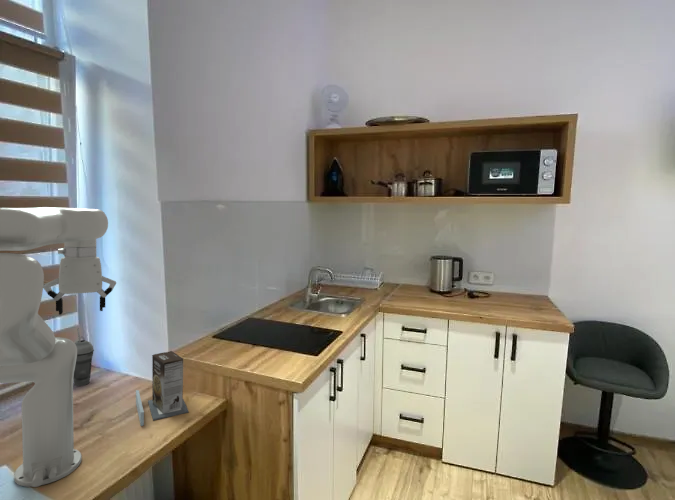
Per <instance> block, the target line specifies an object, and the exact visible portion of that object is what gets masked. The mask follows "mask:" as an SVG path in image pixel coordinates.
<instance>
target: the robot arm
mask: <svg viewBox="0 0 675 500" xmlns="http://www.w3.org/2000/svg"><path fill="white" fill-rule="evenodd" d="M108 227H109V219H108V217H107V214H106V213H105V212H104V211H103V210H101V209H97V208H96V209H95V208H79V207H75V208H74V207H49V206H42V207H41V206H40V207H0V251H1V252H0V384H10V383H11V384H13V383H27V382H28V383H29V382H33V383H34V385H33V386H31V388H30V389H29V390H28V391H27V392H26V394H25V395H24V397H23V398H22V400H21V409H20V411H21V430H22V431H21V436H22V438H21V439H22V464H20V465H19V466H18V467H17V468H16V469H15V471H14V475H13V477H14V478H13V479H14V483H16V484H17V485H18V486H21V487H33V488H38V487H40V486H44V485H47V484H51V483H53V482H56V481H58V480H61V479H63V478H66V476H68V475H70V474H71V473H72V472H74V471H75V470H76V469H77V468H78V467H79V466H80V464H81V462H82V456H83V455H82V452H80V450H78V449H75V448H74V447H75V445H74V443H75V442H74V441H75V439H74V380H73V377H74V370H75V364H76V359H77V347H76V345H75V343H76V342H74V341H73V340H72V339H69V338H67V337H59V336H57V337H56V336H55V333H54V331H53V329H52V328H51V327H50V326H49V324H48V323H47V322H46V321H45V320H44V319H43V317H42V316H40V314H39V311H40V310H39V309H40V306H41V301H42V297H43V292H44V291H45V292H46V294H47V295H48V296H49V297H50V298H52V299H53V300H54V301H55V312H58V315H62V314H63V313H64V307H63V306H64V305H63V304H64V303H63V300H64V299H63V298H62V297H63V296H64V295H73V294H90V293H97V294H98V295H99V311H100V312H103V310H104V309H103V308H106V297H107V296H108V295H109V294H110V293H111V292H113V290H114V288H115V286H116V284H117V282H116V280H113V279H111V278H108V277H106V276H104V275H103V273H102V263H101V259H100V257H99V256H97V239H100V238H102V237H104V235H105V234H106V233H107V230H108ZM55 244H58V245H59V244H64V247H63V248H58V249H57V253H58V254H59V255H60V254H61V255H63V256H64V257H60V262H59V270H58V271H59V272H58V277H57V278H55V279H53V280H50V281H49V282H46V283H44V282H45V273H44V269H43V267H42V264H41V263H40V262H39V261H38V260H37V259H35V258H33V257H32V256H28V255H25V254H19V253H12V252H11V253H10V251H13V252H18V251H19V252H20V251H30V250H33V249H38V248H41V247H45V246H49V245H55ZM2 251H5V252H2ZM6 251H9V252H6ZM103 282H104V283H106V284H109V286H108V287H107V288H106V289H105V290H104V289H103ZM56 285H58V292H55V291H54V290H53V289H52V287H53V286H56ZM43 289H44V291H43Z"/></svg>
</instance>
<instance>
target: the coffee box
mask: <svg viewBox="0 0 675 500" xmlns="http://www.w3.org/2000/svg"><path fill="white" fill-rule="evenodd" d="M151 356H152V357H151V358H152V361H151V362H152V363H151V364H152V365H151V366H152V367H151V368H152V388H151V389H152V400H153V404H154V405H155V406H156V407H157V408H158V409H159V410H160V411H161V412H162V413H163V414H164V413H167V412H170V411H173V410H176V409H179V408H182V406H183V400H184V398H183V396H184V393H183V392H184V358H183V357H181V356H180V355H178V354H177V353H176V352H174V350H173V351H172V350H170V351H166V352H160V353H155V354H153V355H151Z"/></svg>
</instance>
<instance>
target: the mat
mask: <svg viewBox="0 0 675 500" xmlns="http://www.w3.org/2000/svg"><path fill="white" fill-rule="evenodd" d="M147 403H148V407H149V410H150V414H151V417H152V421H158V420H162V419H167V418H170V417H174V416H178V415H179V416H180V415H183V414H187V413H189V408H188V406H187V404H186V402H185V399H183V406H182V408H179V409H176V410H173V411H170V412H167V413H164V414H163V413H162V412H161V411H160V410H159V409H158V408H157V407H156V406H155V405H154V404H153V399H150V400H147Z"/></svg>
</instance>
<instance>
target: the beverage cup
mask: <svg viewBox="0 0 675 500" xmlns="http://www.w3.org/2000/svg"><path fill="white" fill-rule="evenodd" d="M76 331H77V338H78V339H77V341H76V342H74V343H75V345H76V347H77V359H76V364H75V370H74V377H73V386H75V387H83V386H86V384H87V385H88V383H89V384H90V380H91V375H92V374H91V373H92V364H93V363H92V360H93V356H94V351H95V350H94V346H93V344H92V343H91V342H90V341H89V340H84V339H83V340H82V339H81V334H80V328H77V330H76Z"/></svg>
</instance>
